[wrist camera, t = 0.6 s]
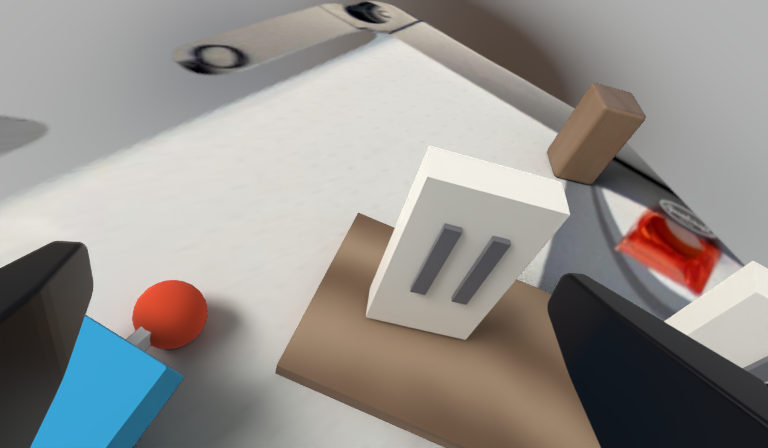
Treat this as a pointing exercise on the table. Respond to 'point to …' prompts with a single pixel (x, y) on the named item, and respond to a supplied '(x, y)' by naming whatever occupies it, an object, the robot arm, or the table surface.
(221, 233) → the table surface
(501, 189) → the two stripe tile
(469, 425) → the brown wooden board
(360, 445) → the table surface
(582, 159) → the wooden block
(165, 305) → the lever
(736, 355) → the one stripe tile
